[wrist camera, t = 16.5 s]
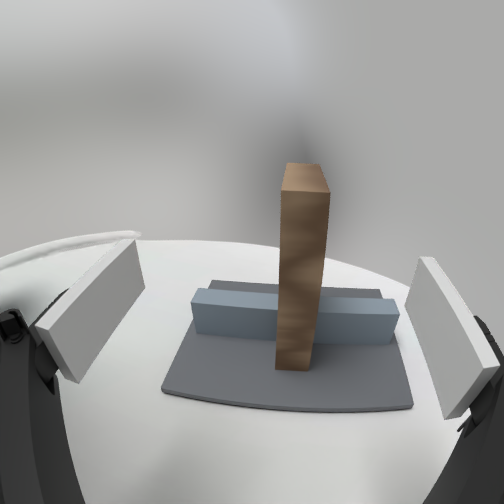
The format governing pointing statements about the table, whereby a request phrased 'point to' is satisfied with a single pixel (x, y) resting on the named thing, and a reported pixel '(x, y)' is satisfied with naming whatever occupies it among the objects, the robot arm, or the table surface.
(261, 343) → the grey plate with ridge
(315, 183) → the brown notched block
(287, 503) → the table surface
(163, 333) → the table surface
